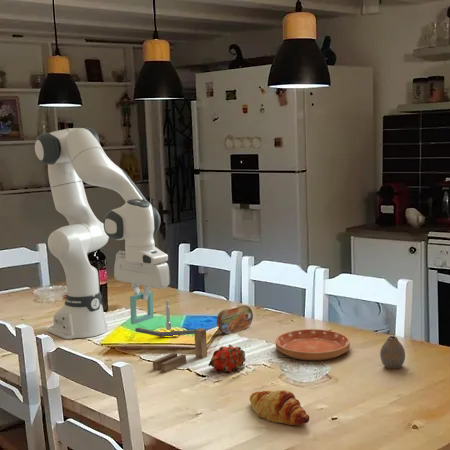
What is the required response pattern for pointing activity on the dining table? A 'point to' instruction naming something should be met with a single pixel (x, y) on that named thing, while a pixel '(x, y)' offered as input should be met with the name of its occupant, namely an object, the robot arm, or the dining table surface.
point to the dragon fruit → (227, 359)
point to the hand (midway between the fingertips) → (141, 298)
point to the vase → (392, 353)
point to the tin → (234, 319)
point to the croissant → (279, 407)
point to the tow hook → (168, 316)
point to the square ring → (133, 308)
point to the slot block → (169, 362)
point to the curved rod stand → (199, 334)
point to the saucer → (312, 344)
